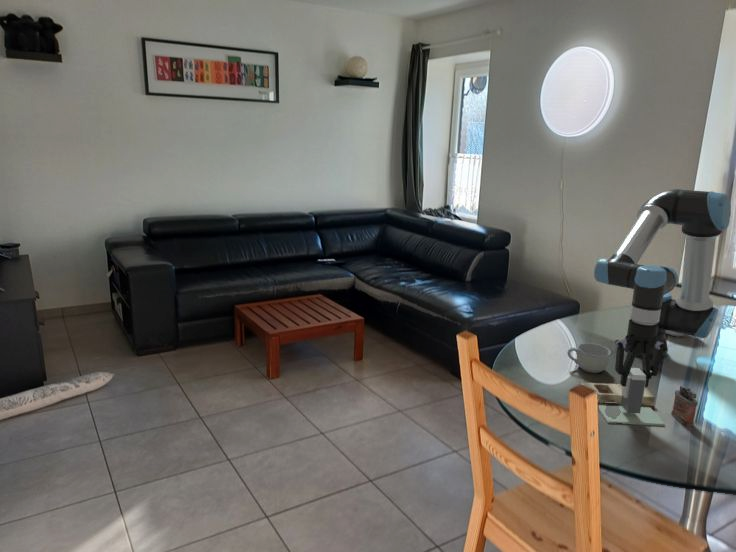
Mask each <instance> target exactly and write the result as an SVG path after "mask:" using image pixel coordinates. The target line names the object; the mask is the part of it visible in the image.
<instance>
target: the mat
mask: <svg viewBox="0 0 736 552" xmlns="http://www.w3.org/2000/svg"><path fill="white" fill-rule="evenodd" d="M598 405H599V410H598V412H599V413H600V414H601V416H602V418H603V419H604V418H605V419H604V421H605V422H606V423H607V424H613V423H612V422H617V423H622V425H636V426H638V425H639V426H656V427H657V426H660V427H661V426H662V427H665V425H666V424H665V422H664V421H663V420H662V419H661V417H660V416H658V415H657V413H656V412H655V411H654V410H653V409H652V408H651V406H641V410H640V413H627V412H626V411H625V409H624V408H623V407H622V405H619V406H620V407H619V409H620V411H621V413H620V415H619V416H617V418H616V419H612V418H611V417H608V416H607V415H606V413H605V409H606V405H607V404H598Z"/></svg>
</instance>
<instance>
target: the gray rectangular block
mask: <svg viewBox="0 0 736 552" xmlns="http://www.w3.org/2000/svg"><path fill="white" fill-rule="evenodd" d="M629 376H630V377H631V380H630V386H629V393H628V398H625V397H624V396H623V395H622V399H621V404H620V406H622V407H623V408H624V409H625V411H626V412H627V413H640V410H641V407H642V405H641V404H642V398H643V392H644V385H645V379H646V375H645V374H644V373H643V370H641V369H640V368H639V367H631V370H630V373H629Z"/></svg>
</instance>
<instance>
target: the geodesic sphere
mask: <svg viewBox="0 0 736 552" xmlns="http://www.w3.org/2000/svg"><path fill="white" fill-rule="evenodd" d="M666 334H667V335H669V336H674V337H677V338H678V337H679V338H680V337H683V336H686V335H685V334H681V333H677V332H673V331H668V330H666V332H665V335H666Z"/></svg>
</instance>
